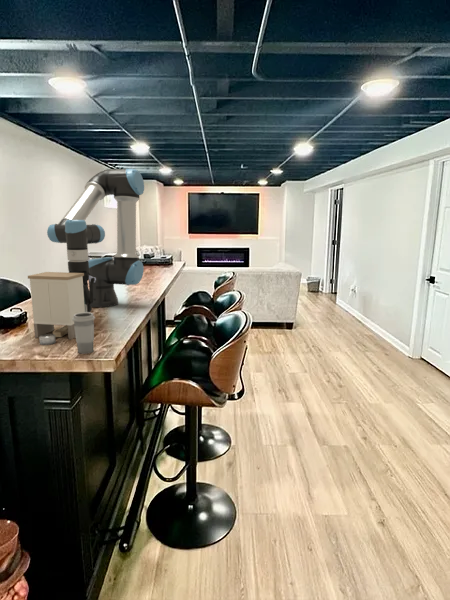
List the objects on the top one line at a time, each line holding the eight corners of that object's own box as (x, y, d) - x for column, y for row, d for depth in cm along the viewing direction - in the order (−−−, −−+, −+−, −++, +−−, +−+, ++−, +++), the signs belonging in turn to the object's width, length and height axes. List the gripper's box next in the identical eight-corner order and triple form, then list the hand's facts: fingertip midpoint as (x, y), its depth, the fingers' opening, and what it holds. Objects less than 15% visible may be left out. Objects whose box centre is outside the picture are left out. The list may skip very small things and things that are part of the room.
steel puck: (45, 340, 134) (45, 333, 134) (59, 341, 134) (58, 334, 133) (36, 344, 130) (35, 337, 129) (50, 345, 129) (49, 338, 128)
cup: (93, 354, 120) (91, 317, 118) (71, 355, 120) (68, 317, 117) (99, 347, 127) (97, 311, 125) (78, 347, 127) (75, 312, 124)
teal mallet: (80, 321, 157) (78, 292, 154) (89, 322, 156) (87, 293, 154) (51, 336, 137) (48, 303, 135) (62, 337, 137) (59, 303, 134)
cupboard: (51, 329, 148) (46, 271, 143) (87, 331, 146) (83, 273, 141) (33, 337, 137) (27, 275, 133) (72, 339, 135) (67, 277, 131)
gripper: (51, 261, 147) (57, 320, 152) (94, 262, 144) (98, 322, 149) (62, 259, 154) (67, 316, 159) (103, 260, 152) (106, 318, 157)
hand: (82, 319), depth 154 cm, fingers closed on teal mallet, 4 cm apart
